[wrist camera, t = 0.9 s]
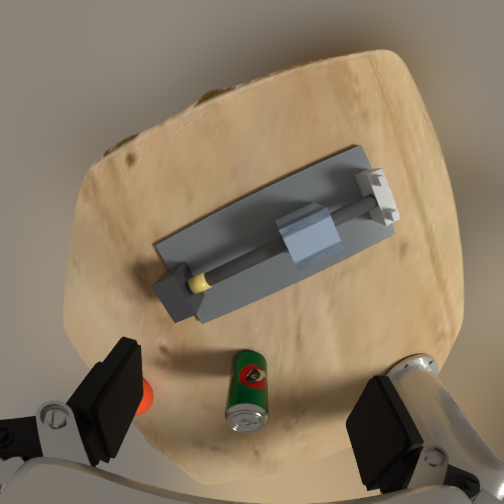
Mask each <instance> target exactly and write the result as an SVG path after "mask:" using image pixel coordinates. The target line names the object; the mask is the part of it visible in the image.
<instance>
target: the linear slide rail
mask: <svg viewBox="0 0 504 504" xmlns="http://www.w3.org/2000/svg"><path fill="white" fill-rule="evenodd" d="M313 202H315V203H318V204H320V205H322V206H325V207H327V208H328V211H329V213H330V215H331V218H332V220H333V222H334V225H335V227H336V230H337V232H338V234H339V237H340V239H341V242H342V244H343V247H344V249H343V250H341V251H339V252H337V253H335V254H333V255H331V256H329V257H326V258H324V259H322V260H320V261H318V262H316V263H314V264H312V265H310V266H308V267H306V268H304V269H301V270H299V271H298V269H297V267H296V265H295V263H294V261H293V259H292V256H291V254H290V252H289V250H288V248H287V246H286V244H285V242H284V240H283V238H282V236H281V233H280V231H279V229H278V227H277V224H276V222H275V220H277V219H279V218H281V217H283V216H285V215H287V214H289V213H292V212H294V211H296V210H298V209H300V208H302V207H304V206H306V205H308V204H310V203H313ZM399 219H400V216H399V213H398V210H397V207H396V204H395V201H394V198H393V195H392V193H391V190H390V187H389V185H388V182H387V179H386V177H385V174H384V172H383V169H382V168H378V169H371V166H370V164H369V162H368V160H367V157H366V155H365V153H364V151H363V148H362V146H361V145H359V146H356V147H354V148H352V149H349V150H347V151H345V152H342V153H340V154H338V155H335V156H333V157H331V158H329V159H326V160H324V161H322V162H320V163H317V164H315V165H313V166H311V167H308V168H306V169H304V170H302V171H300V172H298V173H295V174H293V175H291V176H289V177H287V178H285V179H283V180H281V181H278V182H276V183H274V184H272V185H270V186H268V187H266V188H264V189H262V190H260V191H258V192H256V193H254V194H252V195H250V196H248V197H246V198H244V199H242V200H240V201H238V202H236V203H234V204H232V205H230V206H228V207H226V208H224V209H222V210H220V211H218V212H216V213H214V214H212V215H210V216H208V217H207V218H205V219H203V220H201V221H199V222H197V223H195V224H193V225H191V226H190V227H188V228H186V229H184V230H182V231H180V232H179V233H177V234H175V235H173V236H171V237H169V238H168V239H166V240H164V241H162V242H160V243H159V244H157V245H156V248H157V249H158V251H159V253H160V255H161V256H162V258H163V260H164V262H165V264H166V265H167V267H168V270H167V271H166V272H165V273H164V274H163V275H162V276H161V277H160V278H159V279H158V280H157V281H156V282H155V284H154V285H153V286H152V288H153V289H154V291H155V293H156V294H157V296H158V297H159V299H160V301H161V302H162V304H163V305H164V307H165V309H166V310H167V312H168V313H169V315H170V316H171V318H172V319H173V321H174V322H175V323H177V322H179V321H182V320H184V319H186V318H189V317H191V316H193V315H197V317H198V318H199V320H200V321H201V323H202V324H203V323H206V322H208V321H210V320H213V319H215V318H218V317H220V316H222V315H225V314H227V313H229V312H232V311H234V310H236V309H239V308H241V307H243V306H246V305H248V304H250V303H252V302H255V301H257V300H259V299H262V298H264V297H266V296H268V295H270V294H273V293H275V292H277V291H279V290H281V289H284V288H286V287H288V286H290V285H292V284H294V283H297V282H299V281H301V280H303V279H305V278H307V277H309V276H311V275H314V274H316V273H318V272H320V271H322V270H324V269H326V268H328V267H330V266H332V265H334V264H336V263H338V262H340V261H342V260H344V259H346V258H348V257H350V256H352V255H354V254H356V253H358V252H360V251H362V250H364V249H366V248H368V247H370V246H372V245H374V244H376V243H378V242H380V241H382V240H384V239H386V238H387V237H389V236H391V235H393V234H395V231H394V228H393V225H392V223H393V222H395V221H397V220H399Z"/></svg>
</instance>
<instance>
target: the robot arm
mask: <svg viewBox="0 0 504 504" xmlns="http://www.w3.org/2000/svg"><path fill="white" fill-rule="evenodd" d="M437 373H438V364H437V362H436V361H435V359H434V358H433V357H432V356H430V355H427V354H418V355H414V356H411V357H409V358H407V359H405V360H403V361H401V362H400V363H398V364H397V365H395V366H394V367H393V368H392V369H391V370H390V371H389V372H388V373H387V374H386V375H385V376H377V375H376V376H374V377H373V378H372V379H370V380H369V381H368V383H367V385H366V387H365V389H364V391H363V393H362V394H361V396H360V398H359V400H358V402H357V403H356V405H355V407H354V408H353V410H352V412H351V414H350V415H349V417H348V419H347V421H346V428H347V432H348V435H349V438H350V442H351V445H352V448H353V452H354V455H355V458H356V462H357V466H358V469H359V473H360V476H361V480H362V483H363V485H366V488H367V491H370V490H375V489H379V488H380V491H381V492H380V494H379V495H377V496H371V497H366V498H360V499H353V500H345V501H337V502H327V503H312V504H504V503H503V502H502V501H501V500H502V498H503V497H504V463H503V462H502V461H501V460H500V459H499V458H498V457H497V456H496V455H495V454H494V452H492V450H491V449H490V448H489V447H488V446H487V445H486V444H485V442H484V441H483V440H482V438H481V437H480V436H479V434H478V433H477V432H476V430H475V429H474V427H473V426H472V424H471V423H470V422H469V420H468V419H467V417H466V416H465V414H464V413H463V412H462V410H461V409H460V407H459V406H458V405H457V403H456V402H455V401H454V399H453V398H452V396H451V395H450V394H449V392H448V391H447V390H446V388H445V387H444V386H443V384H442V383H441V382H440V380H439V379H438V378H437ZM143 393H144V390H143V376H142V357H141V346H140V345H138V344H137V341H136V340H133V339H130V338H126V337H122V338H121V339H120V340H119V342H118V343H117V344H116V345H115V347H114V348H113V349H112V351H111V352H110V353H109V355H108V356H107V357H106V358H105V360H104V361H103V362H97V363H96V364H95V365H94V367H93V368H92V369H91V371H90V372H89V373H88V375H87V376H86V377H85V379H84V380H83V381H82V383H81V384H80V385H79V387H78V388H77V389H76V391H75V392H74V393H73V395H72V396H71V397H70V399H69V400H68V401H67V403H66V404H64V403H62V402H59V401H49V402H45V403H43V404H42V405H41V406H40V407H39V408H38V410H37V412H36V416H31V417H23V418H15V419H5V420H0V504H257V503H244V502H233V501H225V500H217V499H210V498H204V497H198V496H192V495H188V494H183V493H178V492H174V491H170V490H166V489H162V488H158V487H155V486H151V485H147V484H143V483H140V482H137V481H134V480H131V479H128V478H125V477H122V476H119V475H116V474H113V473H110V472H107V471H104V470H101V469H99V468H97V467H96V465H98V464H99V461H100V460H101V461H104V462H106V463H108V462H109V460H110V458H115V457H116V455H117V453H118V451H119V448H120V446H121V444H122V442H123V440H124V437H125V435H126V433H127V431H128V428H129V426H130V424H131V422H132V420H133V418H134V416H135V413H136V411H137V409H138V407H139V405H140V403H141V401H142V398H143ZM6 483H7V484H6ZM4 484H6V486H5V487H4V489H3V490H2V492H1V489H2V486H3V485H4Z"/></svg>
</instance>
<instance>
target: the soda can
mask: <svg viewBox="0 0 504 504" xmlns="http://www.w3.org/2000/svg"><path fill="white" fill-rule="evenodd" d="M225 418H226V420H227V422H228V425H229V427H230V428H232V429H233V430H235V431H237V432H240V433H254V432H258V431H260V430H261V429H263V428H264V426H265V424H266V422H267V420H268V418H269V408H268V380H267V362H266V360H265V358H264V357H263V356H262V355H261V354H259V353H257V352H253V351H245V352H241V353H239V354H237V355H236V356H235V357H234V358H233V360H232V366H231V373H230V380H229V388H228V395H227V402H226V410H225Z"/></svg>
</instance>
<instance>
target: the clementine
mask: <svg viewBox="0 0 504 504" xmlns="http://www.w3.org/2000/svg"><path fill="white" fill-rule="evenodd" d="M143 390H144V393H143V398H142V401H141V403H140V405H139V407H138V409H137V411H136V413H135V415H138V414H142V413H144V412H146V411H147V410H149V408H150V407H151V405H152V403H153V391H152V388H151V387H150V385H149V383H148V382H147V381H146V380H145V379H143Z"/></svg>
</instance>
